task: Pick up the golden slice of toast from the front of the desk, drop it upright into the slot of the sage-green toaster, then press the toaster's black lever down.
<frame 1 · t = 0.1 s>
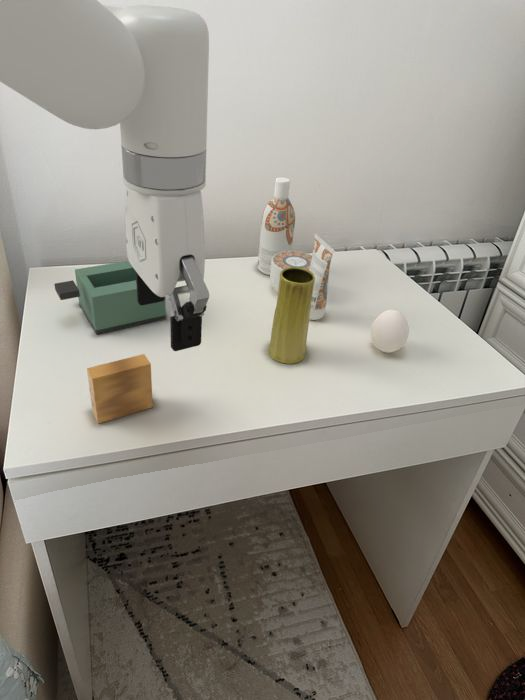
hand: (167, 323, 59), 18 cm above the table, tool pointing down, fingers open, 9 cm apart
egg: (384, 350, 90), on the table
toast: (123, 410, 73), on the table
toaster: (122, 312, 93), on the table
toaster lever: (67, 290, 85), point 6 cm above the table, slide at 0.0 cm
vase: (286, 354, 87), on the table
cosmetic set: (291, 292, 104), on the table
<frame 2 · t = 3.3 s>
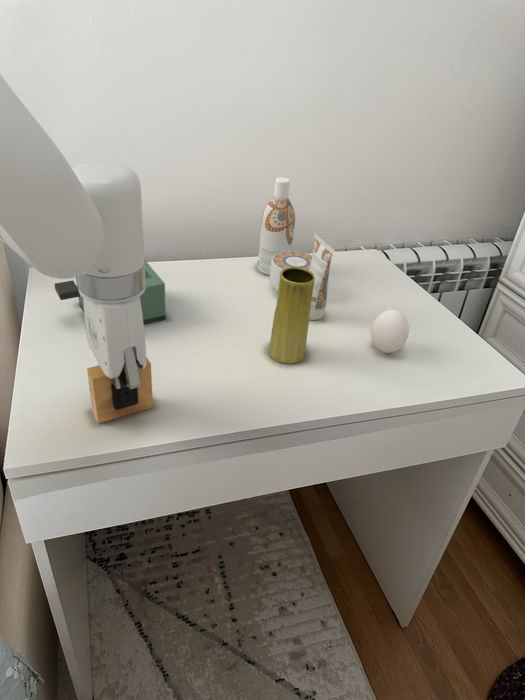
hand: (122, 397, 72), 2 cm above the table, tool pointing down, fingers closed on toast, 2 cm apart
toast: (123, 410, 73), on the table, touching gripper
everything else where it was.
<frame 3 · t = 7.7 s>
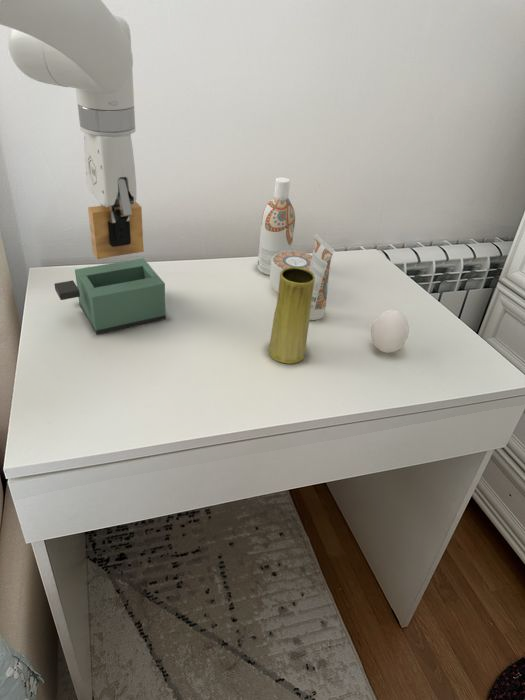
hand: (117, 240, 85), 13 cm above the table, tool pointing down, fingers closed on toast, 2 cm apart
toast: (118, 252, 86), point 11 cm above the table, touching gripper
everything else where it was.
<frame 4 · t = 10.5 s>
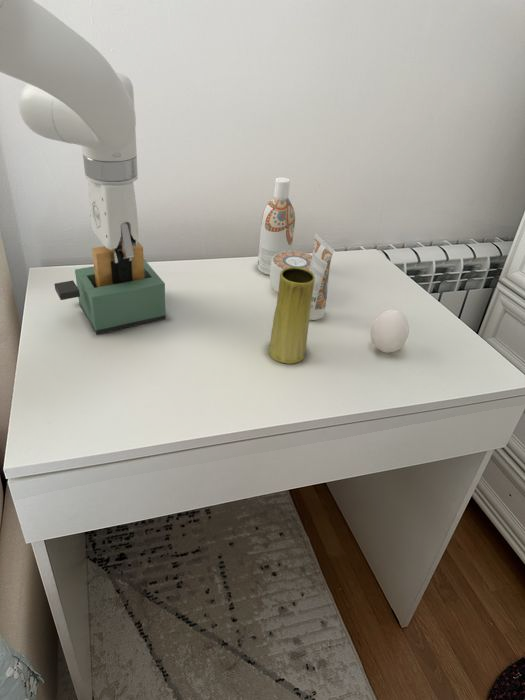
hand: (119, 277, 89), 7 cm above the table, tool pointing down, fingers closed on toast
toast: (120, 289, 90), point 5 cm above the table, touching gripper
everything else where it was.
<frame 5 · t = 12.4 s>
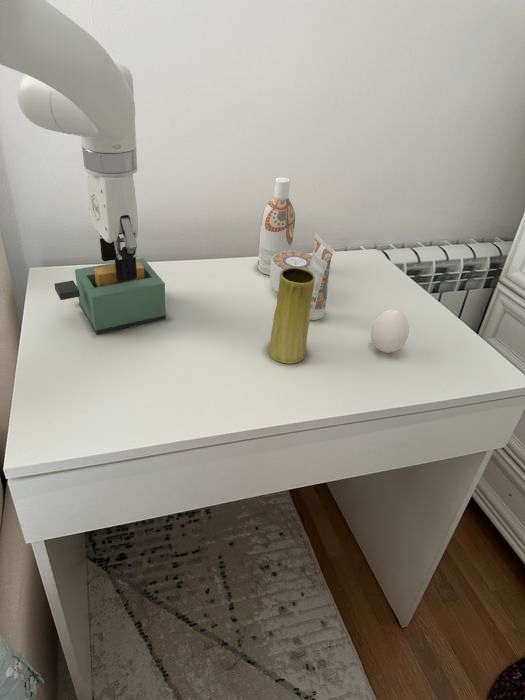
hand: (118, 268, 88), 8 cm above the table, tool pointing down, fingers open, 6 cm apart
toast: (122, 307, 92), point 1 cm above the table, touching toaster
everything else where it was.
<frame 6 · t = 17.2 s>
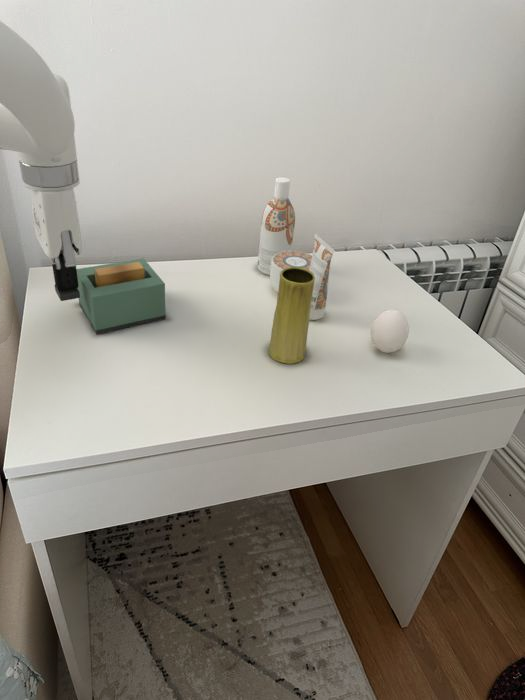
hand: (67, 287, 85), 7 cm above the table, tool pointing down, fingers closed
toaster lever: (67, 291, 85), point 6 cm above the table, slide at 0.2 cm, touching gripper
everything else where it was.
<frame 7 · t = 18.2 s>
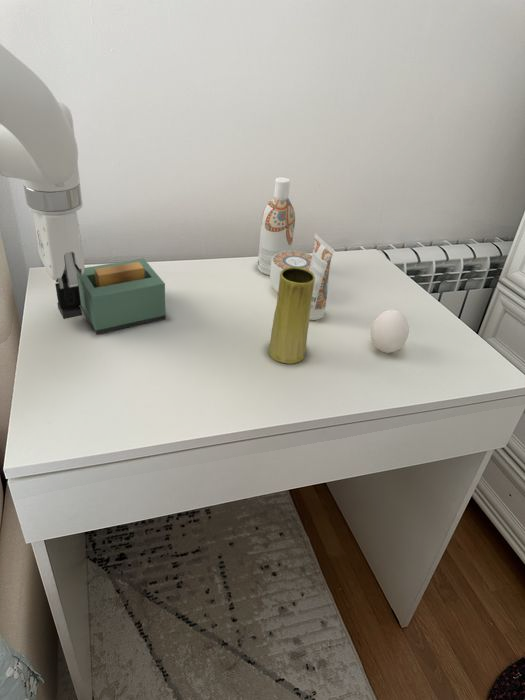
hand: (69, 305, 87), 3 cm above the table, tool pointing down, fingers closed
toaster lever: (69, 308, 87), point 3 cm above the table, slide at 3.5 cm, touching gripper
everything else where it was.
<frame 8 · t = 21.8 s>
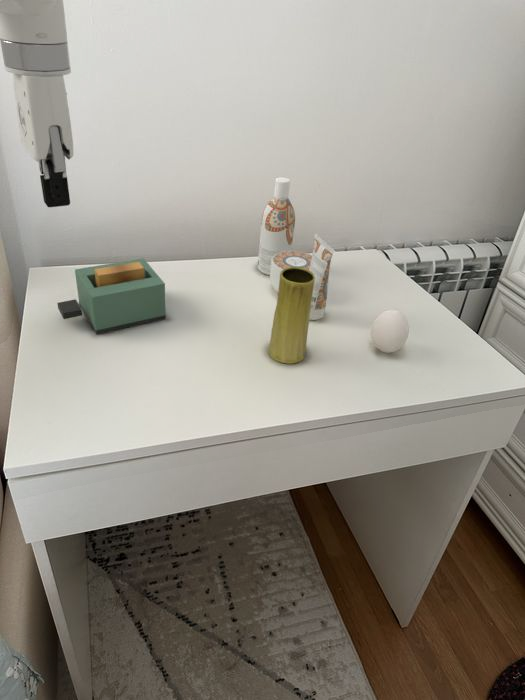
hand: (57, 204, 75), 21 cm above the table, tool pointing down, fingers closed
toaster lever: (69, 309, 87), point 3 cm above the table, slide at 3.6 cm
everything else where it was.
at the end: toast 0.1 cm off-centre on the toaster, point 0.8 cm above the toaster's base; toast tilted 0°; toaster lever slide at 3.6 cm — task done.
